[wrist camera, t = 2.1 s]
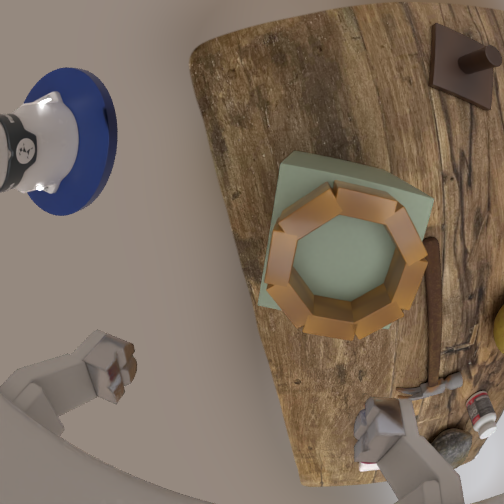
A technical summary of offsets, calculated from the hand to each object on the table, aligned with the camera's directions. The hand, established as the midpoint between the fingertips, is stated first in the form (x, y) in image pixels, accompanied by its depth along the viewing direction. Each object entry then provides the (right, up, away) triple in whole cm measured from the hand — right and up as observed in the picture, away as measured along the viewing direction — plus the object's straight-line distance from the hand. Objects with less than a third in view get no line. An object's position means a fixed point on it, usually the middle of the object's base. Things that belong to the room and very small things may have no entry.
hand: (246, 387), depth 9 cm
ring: (+7, +4, +11) cm, 14 cm away
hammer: (+27, -7, +30) cm, 41 cm away
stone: (+46, -41, +40) cm, 73 cm away
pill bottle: (+47, -26, +33) cm, 63 cm away
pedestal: (+10, +10, +26) cm, 29 cm away
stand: (+26, +27, +15) cm, 41 cm away
